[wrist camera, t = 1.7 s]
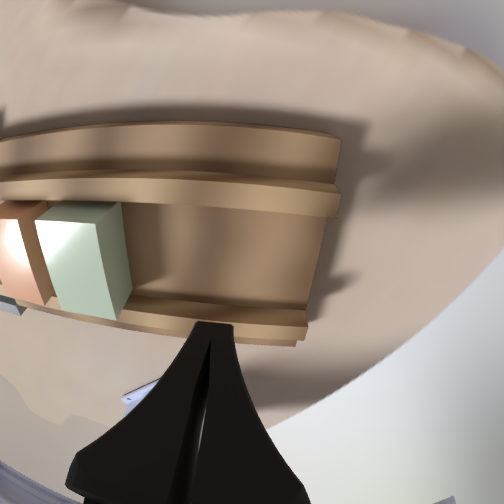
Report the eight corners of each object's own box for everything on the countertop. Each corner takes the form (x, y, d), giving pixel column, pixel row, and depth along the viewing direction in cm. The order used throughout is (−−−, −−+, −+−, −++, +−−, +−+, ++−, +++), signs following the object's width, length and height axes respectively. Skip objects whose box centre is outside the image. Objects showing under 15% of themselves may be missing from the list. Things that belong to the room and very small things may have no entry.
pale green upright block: (120, 199, 14) (95, 223, 12) (132, 288, 17) (116, 320, 15) (64, 198, 14) (34, 220, 12) (81, 281, 17) (61, 309, 15)
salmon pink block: (46, 198, 14) (17, 219, 12) (65, 278, 17) (44, 305, 15) (8, 198, 14) (-20, 217, 12) (28, 272, 17) (7, 295, 15)
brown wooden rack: (331, 134, 14) (350, 145, 11) (292, 326, 22) (297, 362, 19) (-8, 141, 14) (-39, 155, 11) (27, 291, 21) (8, 315, 18)
